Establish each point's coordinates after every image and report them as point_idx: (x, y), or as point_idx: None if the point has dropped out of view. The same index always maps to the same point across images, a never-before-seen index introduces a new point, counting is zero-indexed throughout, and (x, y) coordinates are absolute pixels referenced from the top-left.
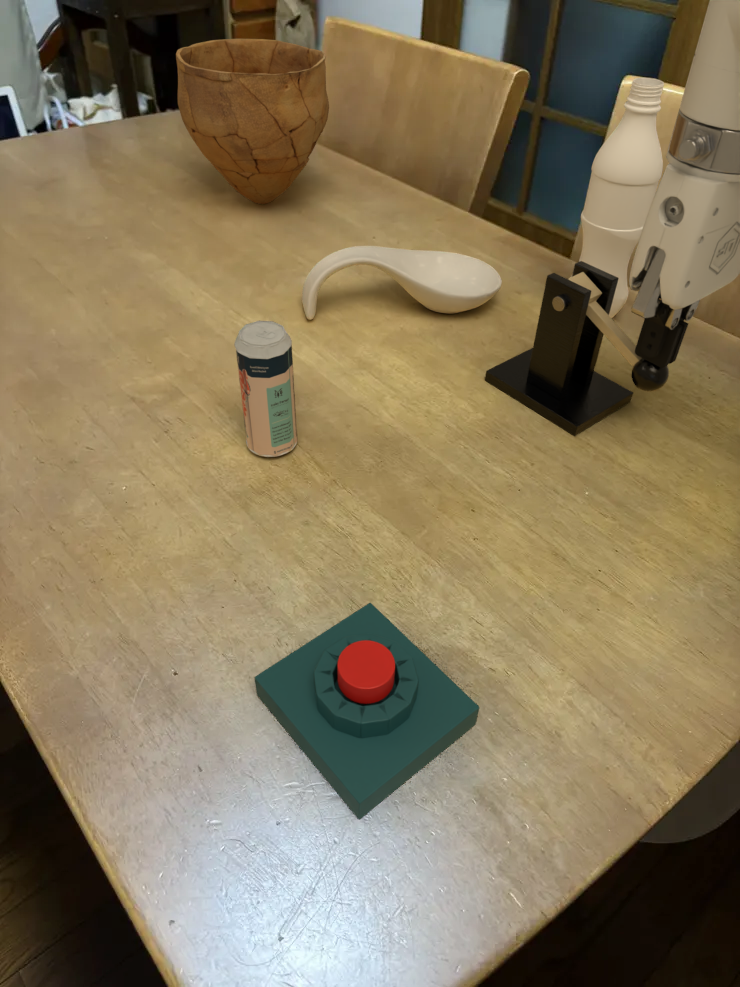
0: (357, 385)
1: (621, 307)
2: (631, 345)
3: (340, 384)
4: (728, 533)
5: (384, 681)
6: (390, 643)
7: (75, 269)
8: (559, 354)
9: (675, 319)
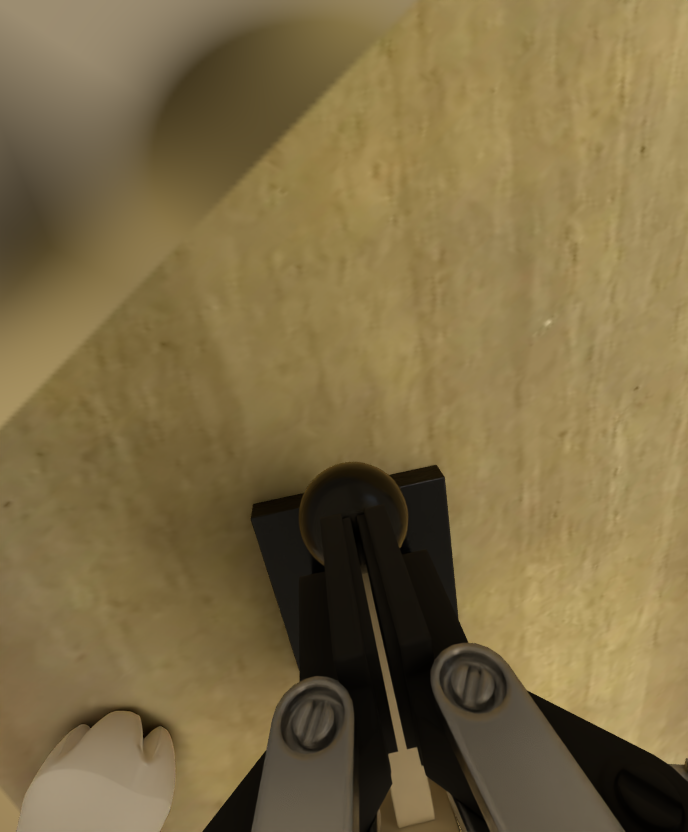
0: (622, 681)
1: (66, 741)
2: (374, 627)
3: (638, 689)
4: (395, 34)
5: None
6: None
7: None
8: None
9: (463, 704)
